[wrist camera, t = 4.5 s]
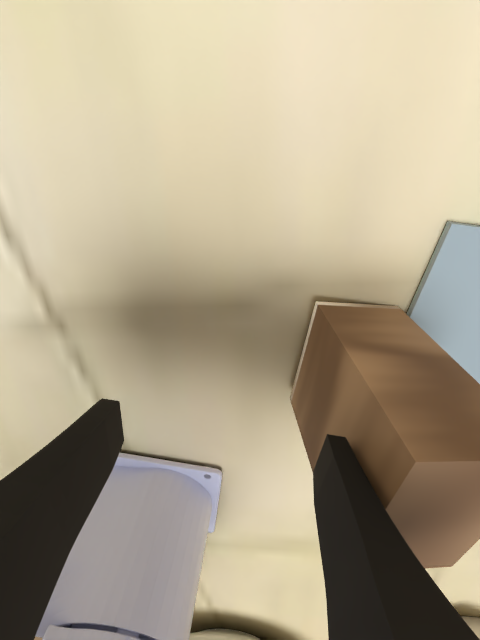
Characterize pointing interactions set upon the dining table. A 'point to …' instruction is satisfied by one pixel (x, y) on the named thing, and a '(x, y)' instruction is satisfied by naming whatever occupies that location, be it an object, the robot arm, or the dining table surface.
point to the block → (396, 421)
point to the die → (473, 624)
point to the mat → (453, 296)
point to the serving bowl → (221, 635)
